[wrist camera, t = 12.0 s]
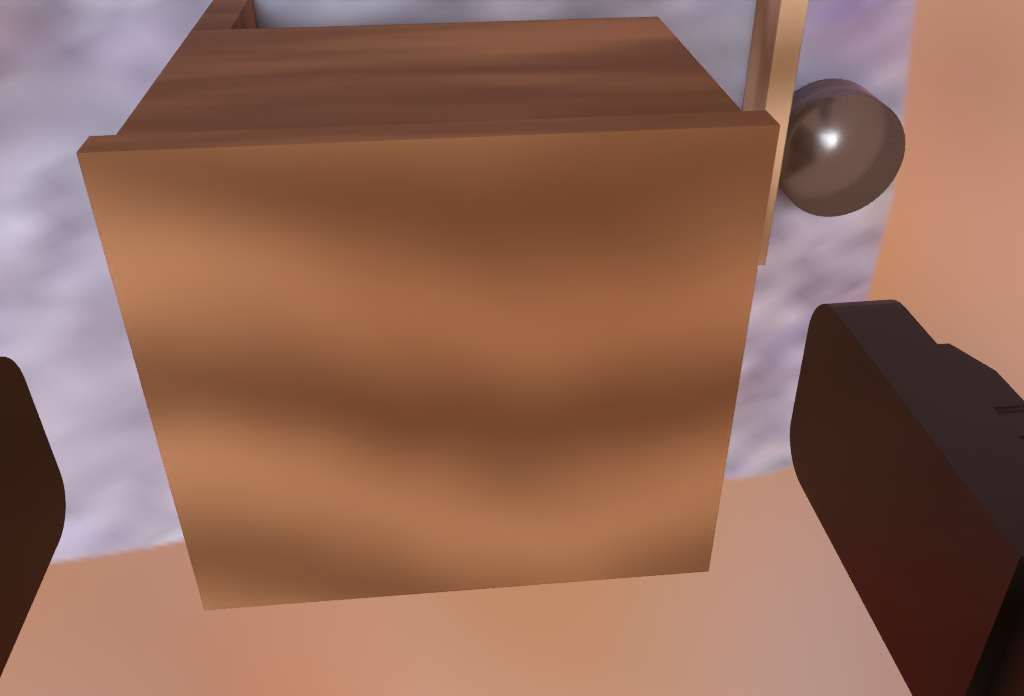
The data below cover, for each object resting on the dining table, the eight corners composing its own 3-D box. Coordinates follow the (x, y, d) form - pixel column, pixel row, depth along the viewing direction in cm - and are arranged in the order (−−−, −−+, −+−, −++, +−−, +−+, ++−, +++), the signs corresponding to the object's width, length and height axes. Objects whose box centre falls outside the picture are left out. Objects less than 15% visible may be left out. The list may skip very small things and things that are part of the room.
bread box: (208, -15, 33) (76, 152, 20) (654, -27, 34) (810, 124, 21) (269, 328, 41) (204, 609, 28) (628, 308, 43) (730, 569, 29)
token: (763, 87, 37) (784, 108, 35) (884, 69, 38) (912, 88, 35) (759, 199, 40) (778, 225, 38) (872, 182, 40) (897, 206, 38)
